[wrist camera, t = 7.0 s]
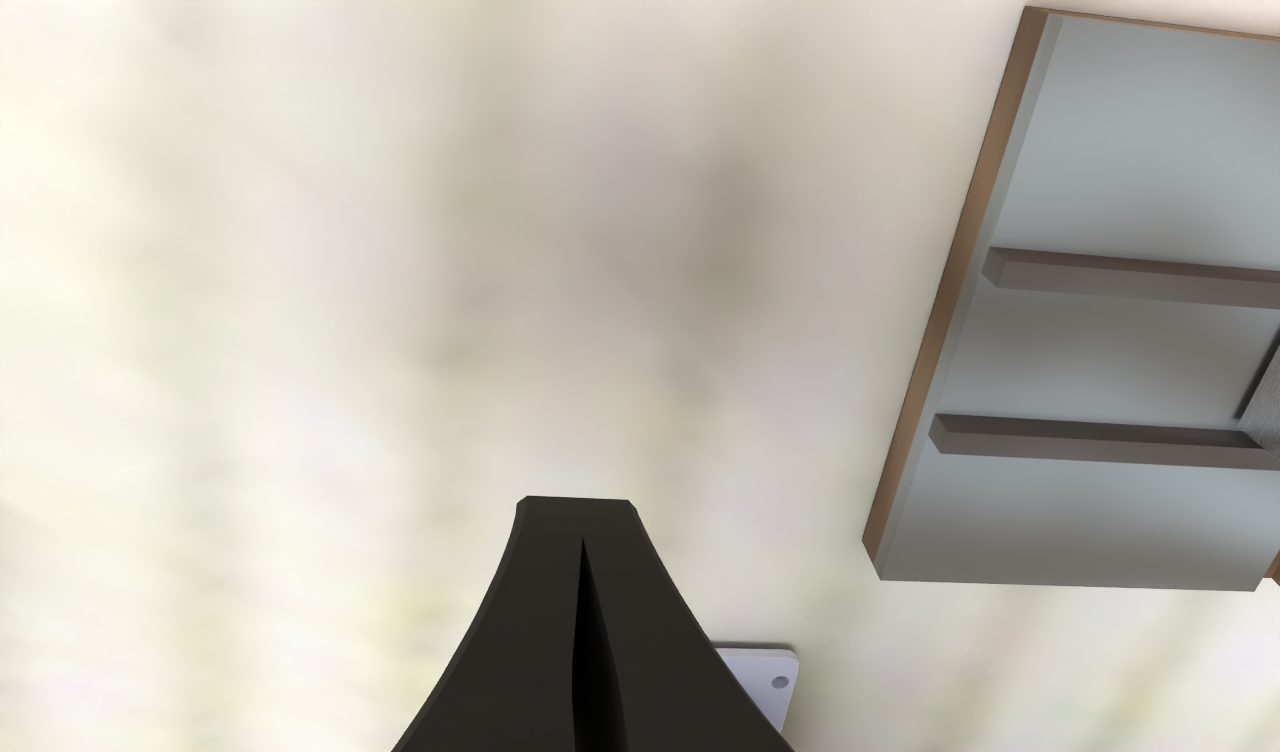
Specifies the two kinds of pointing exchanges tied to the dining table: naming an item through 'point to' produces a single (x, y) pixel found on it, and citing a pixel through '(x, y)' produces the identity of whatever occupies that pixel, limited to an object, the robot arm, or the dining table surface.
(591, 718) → the robot arm
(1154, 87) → the slide bolt latch board
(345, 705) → the dining table surface
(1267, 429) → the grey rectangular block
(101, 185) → the dining table surface
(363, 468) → the dining table surface
